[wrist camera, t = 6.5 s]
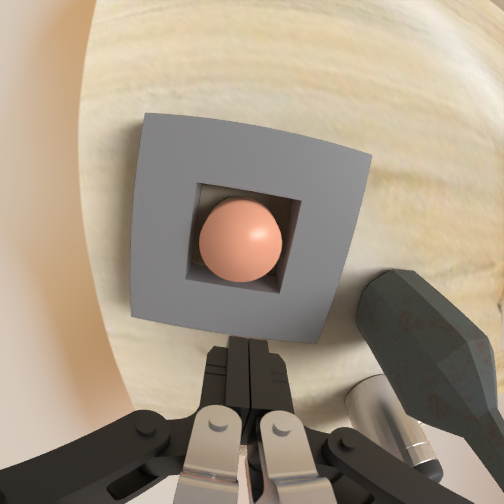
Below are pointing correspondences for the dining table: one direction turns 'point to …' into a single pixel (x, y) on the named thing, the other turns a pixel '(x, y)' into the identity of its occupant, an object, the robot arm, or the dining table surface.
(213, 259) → the button cap
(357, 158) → the button box
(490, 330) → the dining table surface
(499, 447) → the bottle
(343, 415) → the dining table surface
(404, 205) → the dining table surface
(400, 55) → the dining table surface
